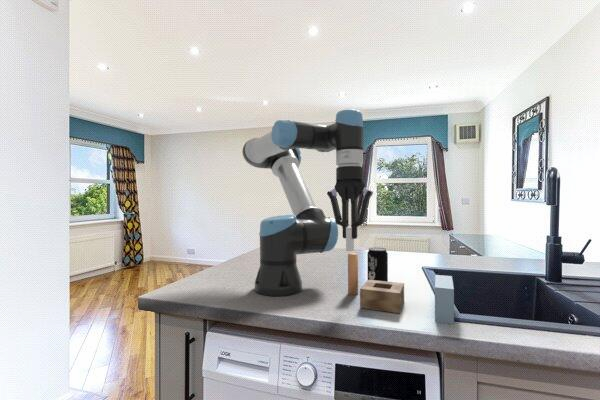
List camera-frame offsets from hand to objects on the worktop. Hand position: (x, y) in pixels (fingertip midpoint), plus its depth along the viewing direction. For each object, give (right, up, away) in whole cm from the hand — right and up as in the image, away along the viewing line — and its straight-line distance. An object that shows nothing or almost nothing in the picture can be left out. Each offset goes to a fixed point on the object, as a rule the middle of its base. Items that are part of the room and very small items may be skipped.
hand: (350, 250), depth 87 cm
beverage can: (+12, -14, +17) cm, 25 cm away
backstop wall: (+22, -14, -10) cm, 28 cm away
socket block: (+8, -14, -4) cm, 17 cm away
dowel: (+2, -14, +7) cm, 16 cm away
